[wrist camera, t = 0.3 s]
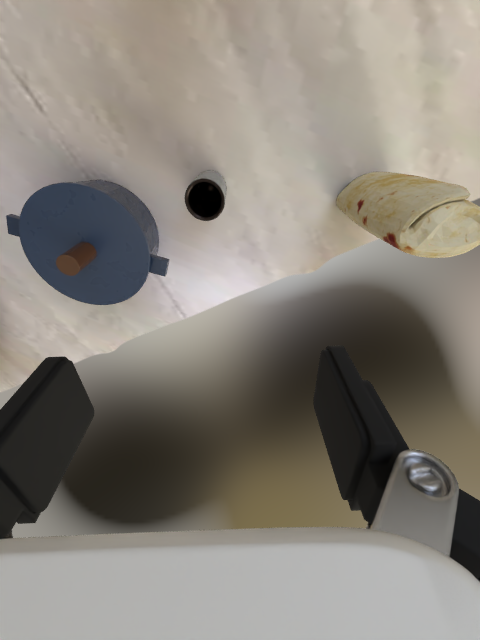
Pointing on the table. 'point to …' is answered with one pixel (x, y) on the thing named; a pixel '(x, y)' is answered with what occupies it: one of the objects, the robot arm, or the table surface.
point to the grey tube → (206, 196)
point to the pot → (134, 206)
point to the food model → (413, 213)
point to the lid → (84, 243)
